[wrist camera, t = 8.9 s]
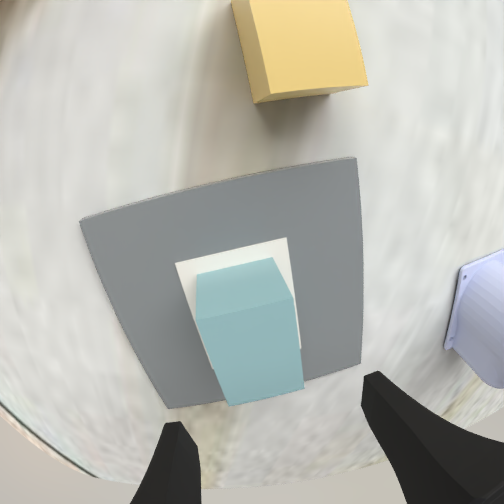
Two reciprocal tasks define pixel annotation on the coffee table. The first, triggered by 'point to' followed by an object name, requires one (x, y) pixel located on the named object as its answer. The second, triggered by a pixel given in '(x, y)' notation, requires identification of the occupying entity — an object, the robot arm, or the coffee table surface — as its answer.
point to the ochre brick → (298, 47)
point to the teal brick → (250, 331)
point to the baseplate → (231, 254)
